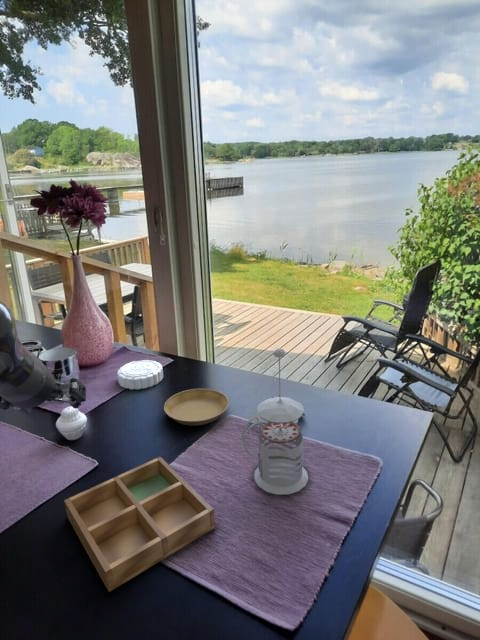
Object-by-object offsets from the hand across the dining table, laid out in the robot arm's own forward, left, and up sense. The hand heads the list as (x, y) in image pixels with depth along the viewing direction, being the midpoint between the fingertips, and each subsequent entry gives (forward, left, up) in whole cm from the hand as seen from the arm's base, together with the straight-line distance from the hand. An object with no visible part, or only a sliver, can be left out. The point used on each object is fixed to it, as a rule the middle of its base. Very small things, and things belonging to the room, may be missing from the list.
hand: (53, 405), depth 82 cm
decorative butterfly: (+42, -16, -13) cm, 47 cm away
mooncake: (+27, +23, -13) cm, 38 cm away
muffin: (+4, +8, -13) cm, 15 cm away
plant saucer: (+29, -2, -13) cm, 32 cm away
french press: (+28, -30, -13) cm, 43 cm away
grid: (+4, -24, -12) cm, 28 cm away
